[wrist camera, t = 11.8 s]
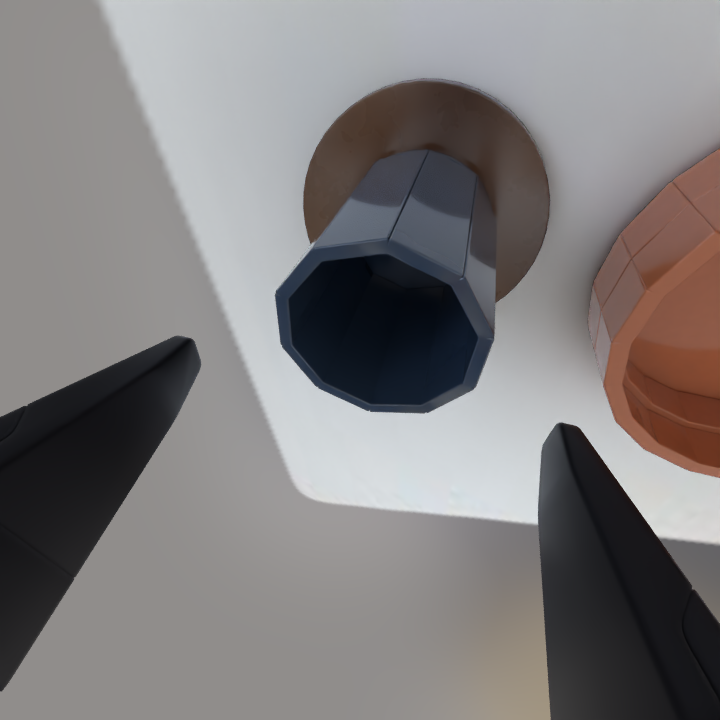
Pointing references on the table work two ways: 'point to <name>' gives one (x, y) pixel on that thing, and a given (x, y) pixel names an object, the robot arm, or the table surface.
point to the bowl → (666, 322)
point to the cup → (397, 288)
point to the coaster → (448, 136)
